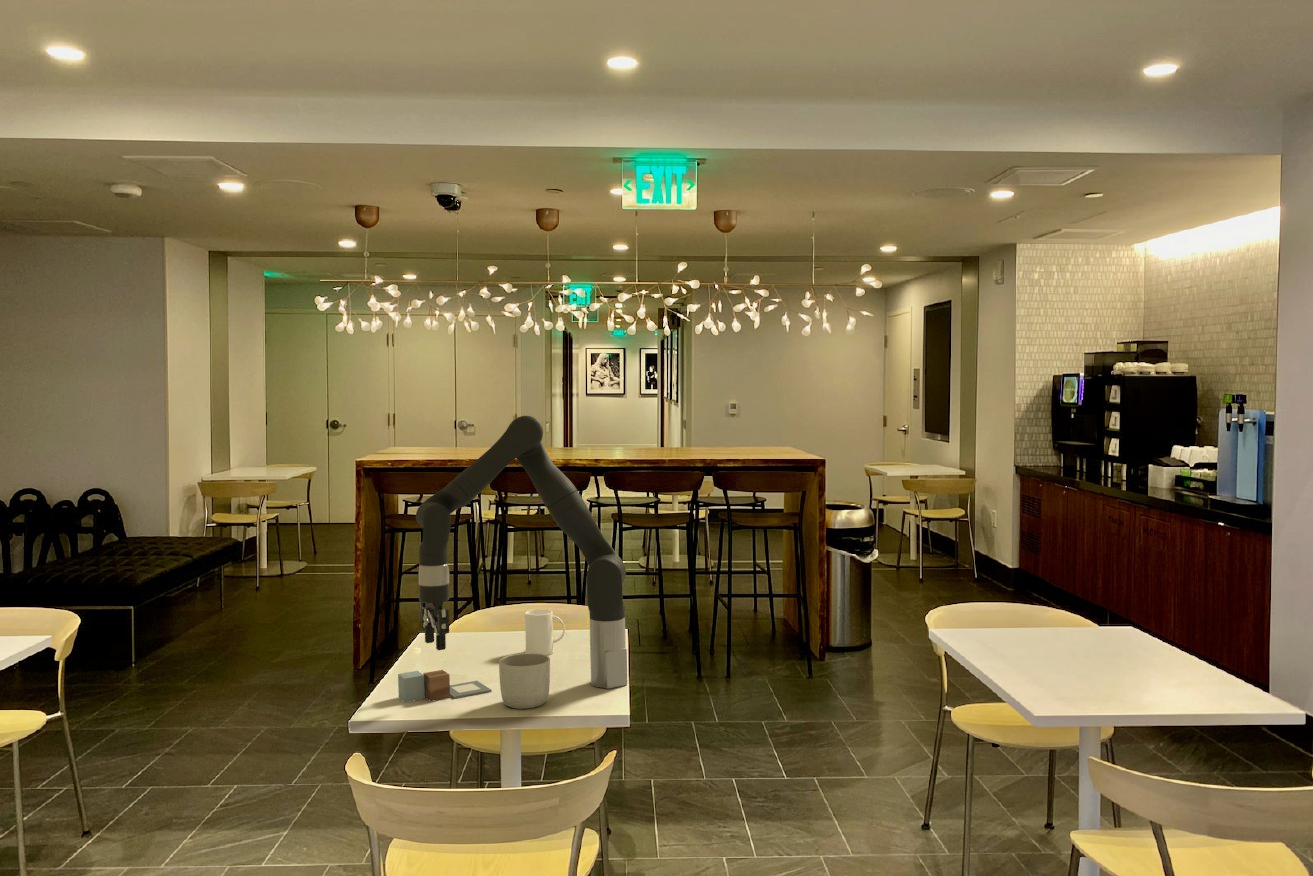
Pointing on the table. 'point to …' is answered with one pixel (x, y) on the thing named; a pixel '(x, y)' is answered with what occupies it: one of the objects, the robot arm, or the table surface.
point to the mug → (540, 631)
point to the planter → (524, 680)
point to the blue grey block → (411, 686)
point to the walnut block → (436, 685)
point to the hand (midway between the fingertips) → (435, 646)
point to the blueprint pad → (468, 689)
